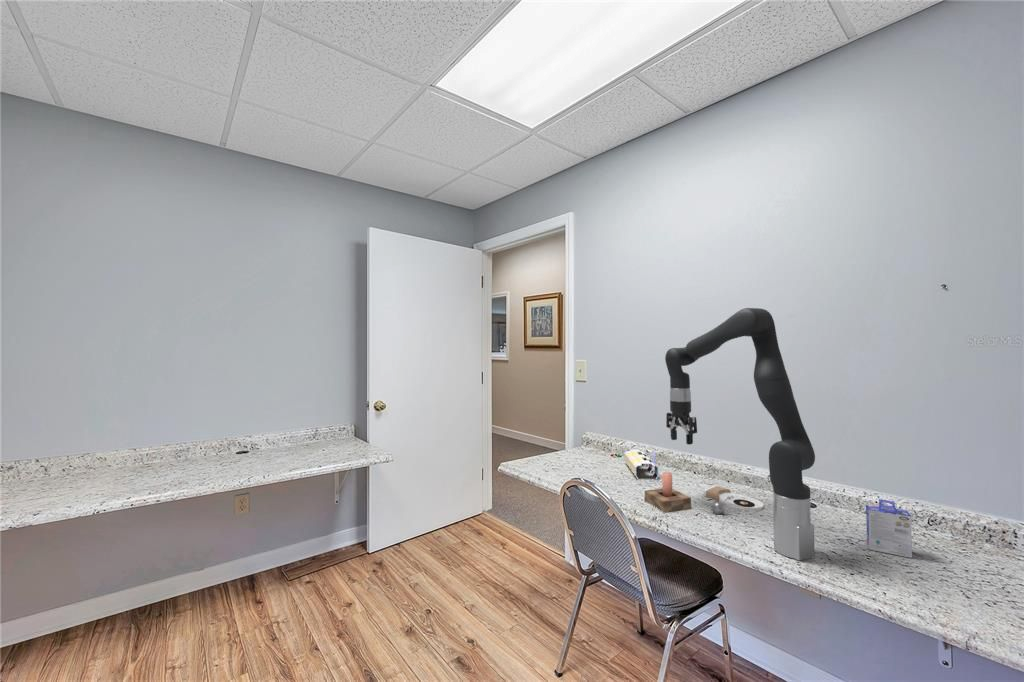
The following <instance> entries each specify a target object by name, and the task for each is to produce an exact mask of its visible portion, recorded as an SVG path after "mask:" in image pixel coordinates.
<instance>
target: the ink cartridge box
mask: <svg viewBox="0 0 1024 682" xmlns="http://www.w3.org/2000/svg"><path fill="white" fill-rule="evenodd" d="M884 503H885V504H884ZM886 503H887V505H886ZM888 504H890V505H888ZM865 514H866V515H865V516H866V518H865V520H866V546H867V549H868V550H870V551H876V552H880V553H885V554H888V555H889V554H890V555H895V556H900V557H906V558H911V559H912V557H913V547H912V546H913V544H912V543H913V541H912V540H913V539H912V532H913V530H912V527H913V526H912V515H911V514H910V513H909V511H908V510H905V509H899V508H896V503H895V501H894V500H893V501H892V500H887V499H880V498H879V499H878V506H877V505H869V504H865Z"/></svg>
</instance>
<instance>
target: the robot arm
mask: <svg viewBox="0 0 1024 682" xmlns="http://www.w3.org/2000/svg"><path fill="white" fill-rule="evenodd" d="M776 331H777V330H776V324H775V320H774V317H773V316H772V314H771V313H770V311H768V310H766V309H765V308H764V309H763V308H758V307H757V308H756V307H746V308H742V309H740V310H738V311H736V312H735V313H734V314H732V315H731V316H730V317H728V318H727V319H726V320H725V321H723V322H722V323H721V324H719V325H717V326H716V327H714V328H713V329H710V330H709V331H708V332H706V333H705V332H704V334H701V335H699V336H697V337H696V338H694V339H692V340H690V341H688V342H687V344H686V346H684V347H672V348H669V349H668V350H667V351H666V353H665V356H664V359H665V365H666V368H667V372H668V375H669V383H670V385H669V386H670V387H669V388H670V390H669V405H670V406H669V410H670V412H667V413H666V415H665V416H666V419H665V420H666V428H667V429H669V430H670V439H671V441H676V440H678V432H677V431H678V430H677V429H678V427H681V428H682V429H683V430H684V432H685V433H686V436H685V440H686V441H685V443H686V445H692V444H693V443H694V434H697V433H698V424H697V422H698V421H697V417H696V416H690V413H691V412H692V393H691V392H692V391H691V381H690V380H691V379H690V374H689V373H687V372H684V371H683V367H686V366H690V365H691V364H694V363H695V362H697V361H698V360H699V359H701V358H702V357H705V356H707V355H709V354H711V353H713V352H715V351H717V350H718V349H720V347H722V345H724V344H725V343H726V342H729V341H731V340H734V339H738V338H741V337H751V339H752V342H753V346H754V350H755V354H756V355H755V357H756V358H755V364H754V371H753V380H754V381H753V382H754V384H755V385H754V386H755V389H756V392H757V395H758V399H759V400H760V402H761V404H762V405H763V407H764V408H765V410H767V412H768V414H770V416H771V417H772V418H773V419H774V422H775V423H776V425H777V428H778V432H779V434H780V438H781V440H780V441H776V442H774V443H773V444H772V445H771V446H770V448H769V452H768V468H769V470H768V472H769V479H770V483H771V485H772V491H773V494H772V497H773V499H772V500H773V501H772V504H773V508H772V509H773V549H774V550H775V552H777V553H779V554H780V555H782V556H785V557H788V558H792V559H795V560H797V561H802V560H803V561H804V560H808V559H813V558H815V525H814V524H813V523H812V522H811V520H812V518H811V517H812V516H811V489H810V486H809V485H807V484H806V483H804V481H803V471H805V470H806V471H807V470H809V469H810V468H811V467H813V466H814V464H815V461H816V453H815V449H814V447H813V444H812V442H811V440H810V438H809V435H808V433H807V431H806V429H805V427H804V424H803V421H802V418H801V415H800V412H799V408H798V406H797V403H796V399H795V397H794V393H793V389H792V386H791V381H790V378H789V375H788V374H787V370H786V367H785V364H784V360H783V356H782V353H781V351H780V347H779V341H778V337H777V332H776Z"/></svg>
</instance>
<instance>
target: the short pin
mask: <svg viewBox="0 0 1024 682" xmlns="http://www.w3.org/2000/svg"><path fill="white" fill-rule="evenodd" d="M724 505H725V504H723V503H722V502H720V501H717V500H713V501H712V514H713V515H714V514H715V515H714V516H717V515H723V516H725V513H724V512H725V511H724V510H725V509H724Z"/></svg>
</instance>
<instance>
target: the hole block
mask: <svg viewBox="0 0 1024 682" xmlns="http://www.w3.org/2000/svg"><path fill="white" fill-rule="evenodd" d="M646 501H647V502H648V504H649V503H650V505H651V504H652V505H653V506H652V505H651V506H652V507H654V506H655V507H654V508H656V507H657V508H658V509H657V508H656V509H657V510H659V509H660V510H659V511H661V510H662V511H663V512H662V511H661V512H662V513H668V512H667V511H671V512H676V511H675V510H678V511H683V510H682V509H685V510H690V508H691V509H692V497H690V496H688V495H686V494H684V493H682V492H680V491H678V490H676V489H674V488H672V497H664V496H663V495H662V488H655V489H646V490H644V502H646ZM647 502H646V503H647Z"/></svg>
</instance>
